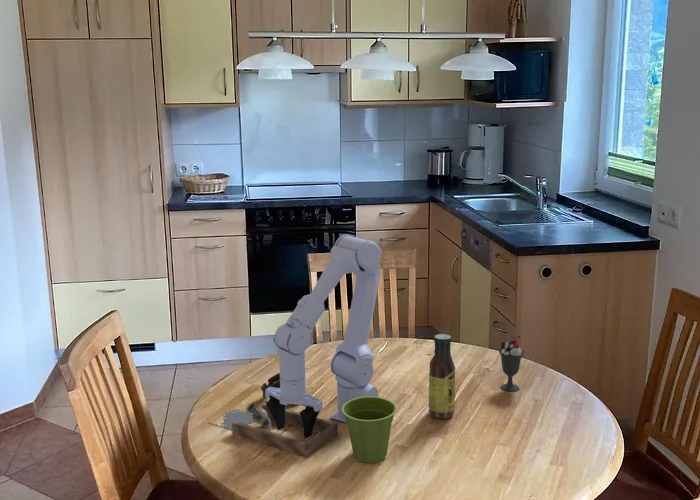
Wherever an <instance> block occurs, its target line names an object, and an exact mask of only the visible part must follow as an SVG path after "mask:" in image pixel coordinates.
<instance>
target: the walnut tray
mask: <svg viewBox="0 0 700 500" xmlns="http://www.w3.org/2000/svg"><path fill="white" fill-rule="evenodd" d="M261 408H262V409H264V410H265V411H266V412H267V415H268V418H270V420H274V418H273V416H272V414H271V412H270V410H269V409H268V407H267V406H266V402H264V403H262V404H261ZM285 424H289V425H293V426H295V427H298V428H302V429H303V422H302V418H301V416H300V412H297V411H294V410H290V409H287V408H286V410H285ZM338 427H339V425H338V423H337V422H333V421H329V420H326V419H322V418H319V417H317V418H316V421H315V424H314V427H313V432H315V433H318V434H316V435H315V436H313V437H312V438H311V439H310V440H308V441H306V442H304V441H301V440H298V439H295V438H291V437H288V436H284V435H282V434H279V433H275V432H272V431H269V430H266V429H263V428H259V427H257V426H256V427H255V426H252V425H250V424H249V425H246V424H243V423H240V422H237V421H234V422H232V430H231V432H232V433H231V434H233V435H232V436H235V435H236V437H239V438H242V439H246V440H249V441H251V442H254V441H255V442H254V443H257V442H258V444H260V445H263V444H264V446H266V447H270V448H273V447H274V448H273V449H276V448H277V449H276V450H279V449H280V450H281V451H282V450H283V451H282V452H285V451H286V452H287V453H288V452H289V454H291V455H296V456H298V457H302V458H304V459H309V458H310V457H312V456H313V455H314V454H316V453H317V452H318V451H319V450H320V449H322V448H323V447H325V446H326V445H327V444H329V443H330V442H331V441H333V440H334V439H335V438H336V437H338V435H339V434H338V431H339V429H338Z"/></svg>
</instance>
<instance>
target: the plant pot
mask: <svg viewBox="0 0 700 500" xmlns="http://www.w3.org/2000/svg"><path fill="white" fill-rule="evenodd" d="M397 409H398V407H397V404H396V403H395V402H393V401H392V400H391V399H388V398H385V397H380V396H378V397H374V396H365V397H359V398H354V399H352V400H349V401H347V402H346V403H345V404H343V406H342V409H341V410H342V413H343V414H344V415H345V419H346V425H347V429H348V433H349V439H350V444H351V448H352V449H351V450H352V454H353V457H354V458H355V460H356V461H358V462H361V463H364V462H365V463H368V464H376V463H379V462H381V461H383V460H385V458H386V456H387V455H388V449H389V441H390V435H391V430H392V429H391V428H392V424H393V422H394V415H395V414H396V413H397Z"/></svg>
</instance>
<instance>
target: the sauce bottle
mask: <svg viewBox="0 0 700 500" xmlns="http://www.w3.org/2000/svg"><path fill="white" fill-rule="evenodd" d="M433 337H434V338H433V342H434V351H433V352H434V355H433V357H432V358H431V359H430V362H429V373H428V412H429V416H431V417H432V418H434V419H438V420H439V419H440V420H446V419H450V418H452V417H453V416H454V414H455V408H456V407H455V402H456V401H455V400H456V366H455V364H454V361H453V357H452V354H451V343H452V336H451V335H449V334H445V333H439V334H435V335H434V336H433Z"/></svg>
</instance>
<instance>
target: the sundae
mask: <svg viewBox="0 0 700 500" xmlns="http://www.w3.org/2000/svg"><path fill="white" fill-rule="evenodd" d="M519 338H521V335H519V334H518V335H517V337H516V338H514V339H512V340H510V341H508V342H504V341H501V342H500V345H501V346H500V348H499V349H498V350H497V351H498V353H499V355H500V357H501V359H500V360H501V368H502V371H503V373H504V374H505V375H506V376H507V382H506V383H502V384H501V385H500V387H499V388H500V390H502V391H504V392H509V393H515V392H518V391H520V386H518V385H517V384H514V383H513V382H514V381H513V377H514V376H516V375H517V374H518V372H519V370H520V365H521V360H522V357H524V356H525V351H524V350H522V348H521V347H520V346H519V345H520V344H519V343H518V340H519Z"/></svg>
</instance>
